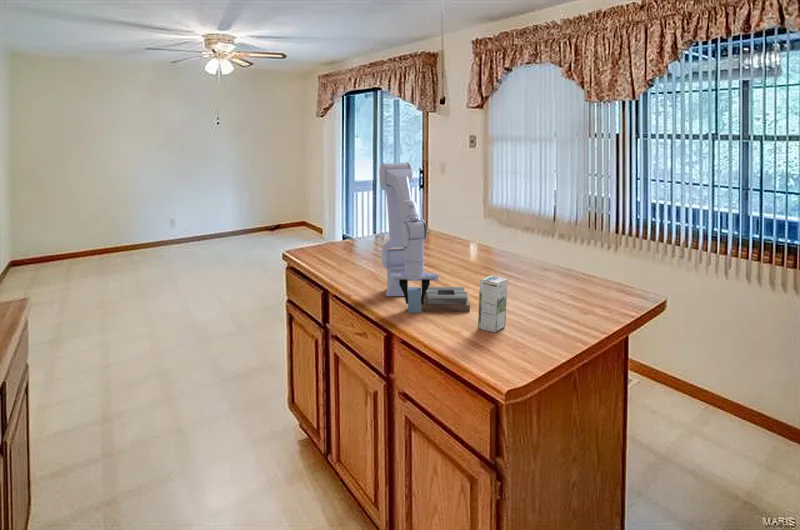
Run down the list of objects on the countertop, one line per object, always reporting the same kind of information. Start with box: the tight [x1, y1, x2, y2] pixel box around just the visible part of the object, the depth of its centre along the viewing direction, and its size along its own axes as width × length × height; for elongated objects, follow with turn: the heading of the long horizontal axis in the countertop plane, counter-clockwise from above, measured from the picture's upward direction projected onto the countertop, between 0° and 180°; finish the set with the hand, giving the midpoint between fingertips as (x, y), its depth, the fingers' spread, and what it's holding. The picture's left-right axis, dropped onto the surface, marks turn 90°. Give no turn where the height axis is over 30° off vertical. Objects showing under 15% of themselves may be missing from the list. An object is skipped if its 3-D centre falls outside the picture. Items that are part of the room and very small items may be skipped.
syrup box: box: [477, 275, 509, 333], centre depth 150 cm, size 6×6×14 cm
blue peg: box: [407, 286, 422, 314], centre depth 166 cm, size 4×4×7 cm
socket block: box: [423, 286, 471, 313], centre depth 172 cm, size 14×14×4 cm
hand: (414, 303), depth 166 cm, fingers closed on blue peg, 4 cm apart
